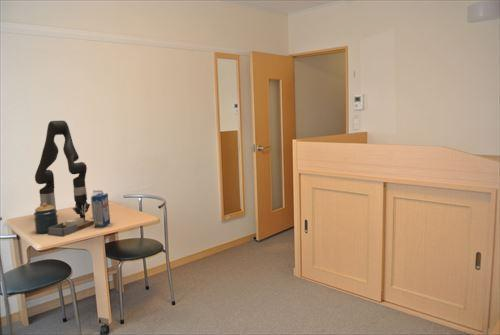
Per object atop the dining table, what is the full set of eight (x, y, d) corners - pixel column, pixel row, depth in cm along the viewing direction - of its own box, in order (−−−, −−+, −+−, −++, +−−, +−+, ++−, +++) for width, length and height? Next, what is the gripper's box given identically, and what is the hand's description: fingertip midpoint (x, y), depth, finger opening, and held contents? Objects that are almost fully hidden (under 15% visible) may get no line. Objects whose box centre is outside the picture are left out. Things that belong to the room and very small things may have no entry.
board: (62, 229, 249) (62, 225, 249) (79, 223, 262) (79, 219, 262) (77, 230, 245) (77, 226, 245) (93, 224, 258) (93, 220, 258)
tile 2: (71, 224, 252) (71, 219, 251) (77, 222, 256) (77, 217, 256) (78, 224, 250) (77, 220, 249) (83, 222, 254) (83, 217, 254)
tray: (48, 234, 239) (47, 227, 239) (62, 229, 249) (62, 222, 249) (63, 236, 235) (62, 229, 234) (77, 230, 245) (76, 224, 245)
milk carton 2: (100, 223, 261) (98, 193, 258) (110, 223, 260) (107, 193, 258) (94, 227, 251) (91, 196, 248) (104, 227, 250) (101, 196, 248)
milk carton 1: (101, 218, 272) (99, 191, 269) (92, 218, 273) (90, 191, 271) (107, 216, 279) (105, 189, 276) (98, 215, 280) (96, 189, 277)
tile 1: (65, 226, 247) (65, 221, 247) (71, 224, 252) (71, 219, 251) (71, 226, 245) (71, 222, 245) (77, 224, 250) (77, 220, 250)
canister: (34, 235, 239) (31, 206, 237) (36, 229, 251) (33, 202, 249) (58, 231, 244) (55, 203, 242) (59, 226, 256) (56, 199, 254)
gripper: (83, 191, 262) (85, 216, 264) (67, 195, 249) (70, 222, 252) (92, 191, 259) (94, 217, 262) (77, 196, 247) (79, 223, 249)
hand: (82, 219), depth 257 cm, fingers closed
